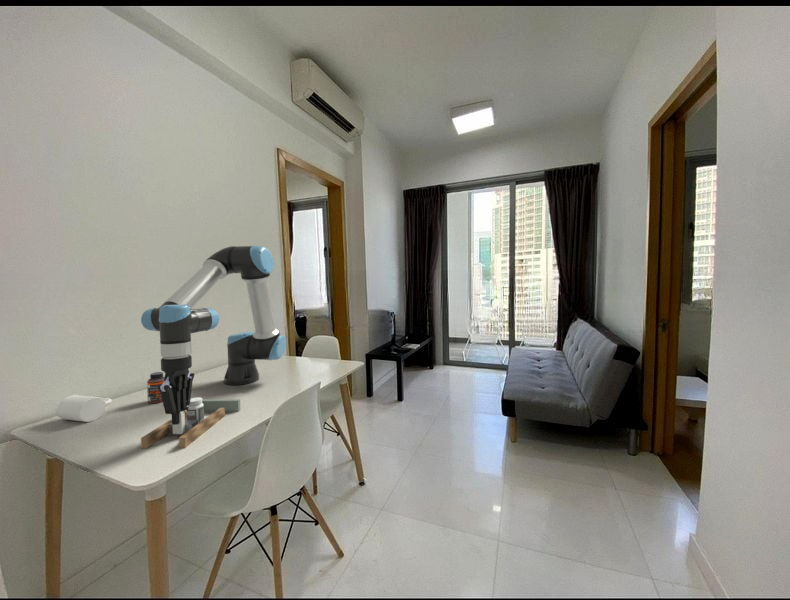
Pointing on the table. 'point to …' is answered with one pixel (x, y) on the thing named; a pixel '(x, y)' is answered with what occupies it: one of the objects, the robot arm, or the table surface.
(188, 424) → the tall gray brick
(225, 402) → the door edge rail
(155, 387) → the supplement bottle
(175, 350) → the robot arm
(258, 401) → the table surface
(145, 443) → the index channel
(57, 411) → the mug
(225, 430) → the table surface
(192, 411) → the pill bottle
